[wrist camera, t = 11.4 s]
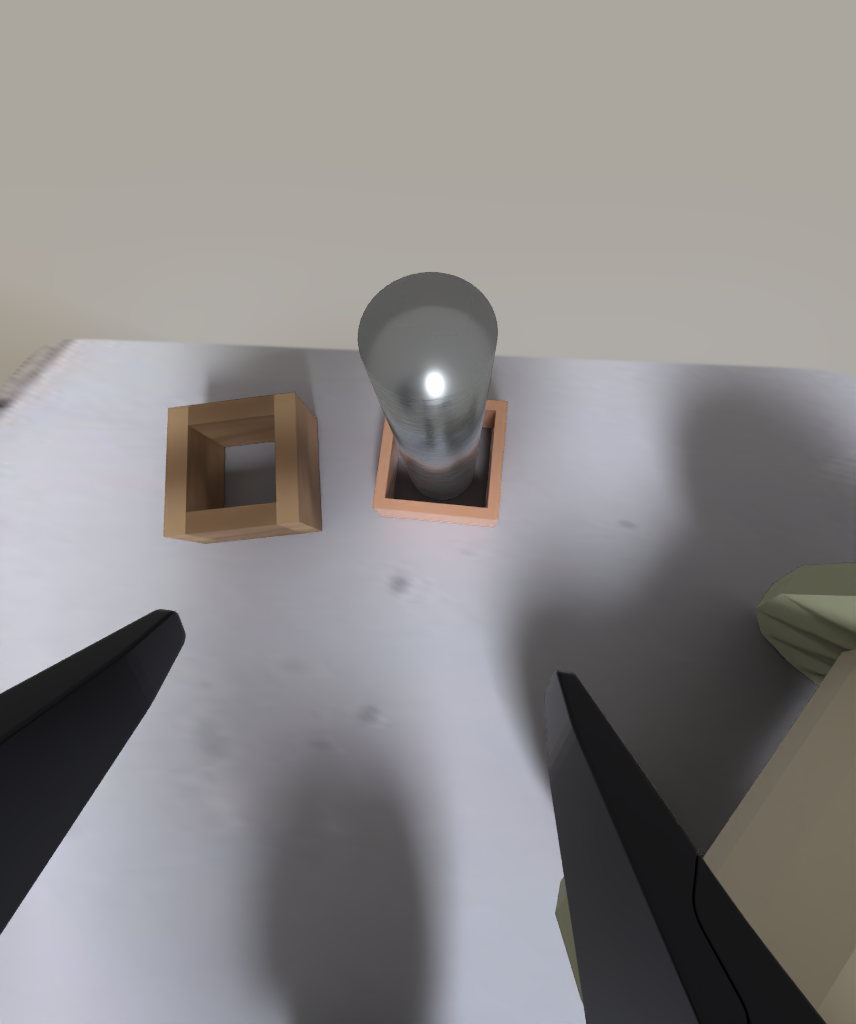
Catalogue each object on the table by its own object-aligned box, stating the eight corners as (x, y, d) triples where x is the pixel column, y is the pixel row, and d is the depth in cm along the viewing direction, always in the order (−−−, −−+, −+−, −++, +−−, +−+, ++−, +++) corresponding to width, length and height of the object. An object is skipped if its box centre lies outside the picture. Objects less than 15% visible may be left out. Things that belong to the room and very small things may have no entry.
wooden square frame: (322, 530, 24) (298, 521, 20) (205, 543, 24) (163, 536, 20) (317, 418, 25) (294, 392, 21) (207, 432, 25) (168, 408, 22)
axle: (486, 479, 23) (524, 354, 11) (428, 511, 23) (397, 423, 11) (454, 426, 24) (453, 249, 11) (398, 456, 24) (334, 312, 11)
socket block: (493, 527, 23) (498, 520, 20) (381, 515, 23) (372, 507, 21) (502, 419, 24) (507, 401, 22) (395, 411, 25) (388, 392, 22)
